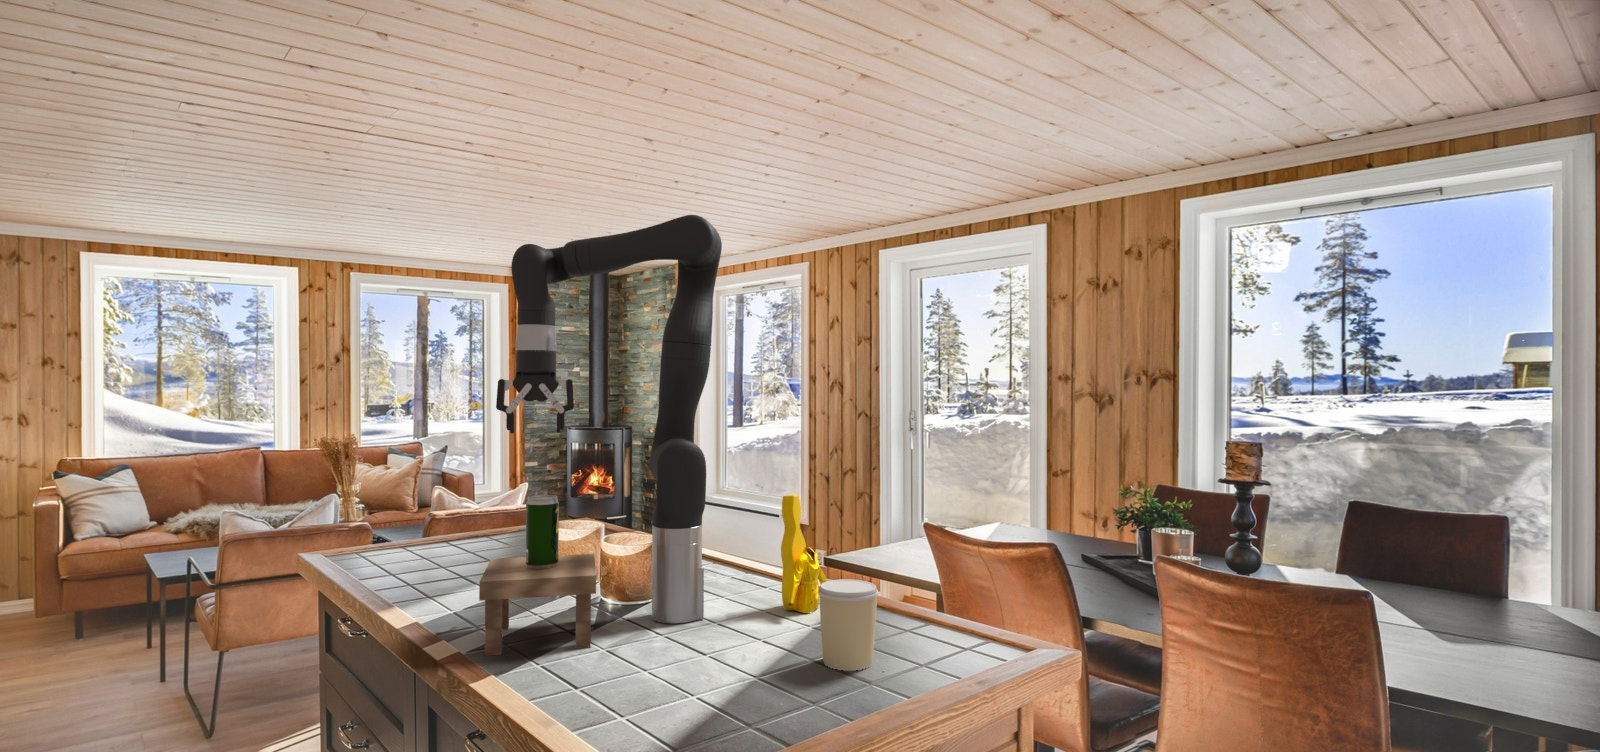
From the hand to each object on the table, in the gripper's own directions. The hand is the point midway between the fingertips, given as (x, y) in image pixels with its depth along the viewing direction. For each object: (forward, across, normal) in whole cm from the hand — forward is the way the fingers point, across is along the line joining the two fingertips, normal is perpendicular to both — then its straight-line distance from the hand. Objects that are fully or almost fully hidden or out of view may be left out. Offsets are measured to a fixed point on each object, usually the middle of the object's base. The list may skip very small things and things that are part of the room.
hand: (535, 432), depth 158 cm
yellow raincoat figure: (+34, -50, +12) cm, 62 cm away
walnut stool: (+34, -2, +18) cm, 39 cm away
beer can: (+22, -2, +18) cm, 29 cm away
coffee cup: (+34, -49, +44) cm, 74 cm away
